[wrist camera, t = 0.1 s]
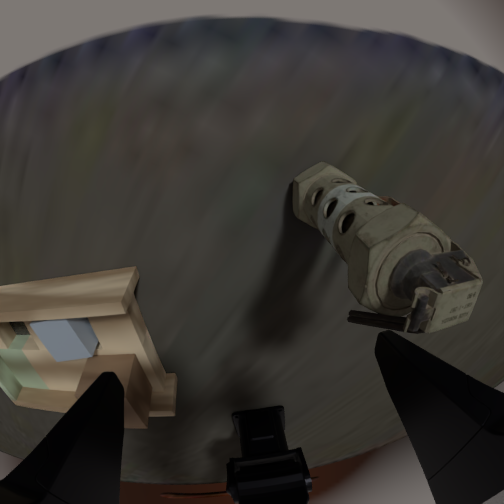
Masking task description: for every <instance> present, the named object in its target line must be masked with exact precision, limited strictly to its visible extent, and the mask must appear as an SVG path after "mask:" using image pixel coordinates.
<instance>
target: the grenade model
mask: <svg viewBox="0 0 504 504" xmlns="http://www.w3.org/2000/svg"><path fill="white" fill-rule="evenodd" d="M293 213H294V214H295V216H296V217H297V218H298V219H300V220H301V221H303V222H305V223H306V224H308V225H310V226H312V227H314V228H316V229H318V230H319V231H320V232H321V233H322V235H323V236H324V237H325V238H326V239H327V241H328V242H329V243H330V244H331V245H332V246H333V248H334V249H335V250H336V252H337V253H338V254H339V255H340V256H341V258H342V259H343V260H344V261H345V262H346V263H347V265H348V288H349V289H350V291H351V292H352V294H353V295H354V297H355V298H356V299H357V301H358V302H359V304H361V305H363V306H364V307H366V308H368V309H370V310H372V311H374V312H376V313H378V314H376V313H369V312H362V311H355V310H351V311H350V312H349V315H350V316H349V317H348V318H347V320H348V322H352V323H357V324H362V325H368V326H373V327H379V328H385V329H391V330H397V331H402V332H408V333H416V334H418V333H425V332H427V333H428V334H429V333H432V332H435V331H438V330H441V329H444V328H447V327H450V326H453V325H456V324H459V323H462V322H464V321H467V320H468V319H469V317H470V315H471V312H472V310H473V307H474V305H475V302H476V299H477V297H478V294H479V291H480V289H481V286H482V283H483V280H482V278H481V275H480V273H479V271H478V269H477V267H476V265H475V263H474V261H473V259H472V258H470V257H469V256H468V254H467V253H466V252H465V251H464V250H463V249H462V248H460V246H459V245H458V244H456V243H455V242H453V241H451V239H450V238H449V237H448V236H447V235H446V234H445V233H444V232H443V231H442V230H441V229H440V228H439V227H437V226H436V225H435V224H434V223H433V222H431V221H430V220H429V219H428V218H426V217H425V216H424V215H422V214H421V213H420V212H418V211H416V210H415V209H413V208H411V207H410V206H408V205H406V204H404V203H399V202H398V201H396V200H395V199H393V198H392V197H387V196H375V195H374V194H372V193H370V192H368V191H367V190H365V189H363V188H361V187H360V186H358V185H357V182H356V181H355V180H354V179H352V178H351V177H350V176H348V175H346V174H345V173H343V172H342V171H340V170H338V169H337V168H335V167H333V166H332V165H330V164H328V163H326V162H324V161H322V162H320V163H318V164H316V165H314V166H312V167H310V168H308V169H307V170H305V171H304V172H302V173H301V174H299V175H298V176H297V177H295V178H294V179H293ZM410 312H411V314H409V315H407V317H401V316H404V315H406V314H408V313H410Z"/></svg>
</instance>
